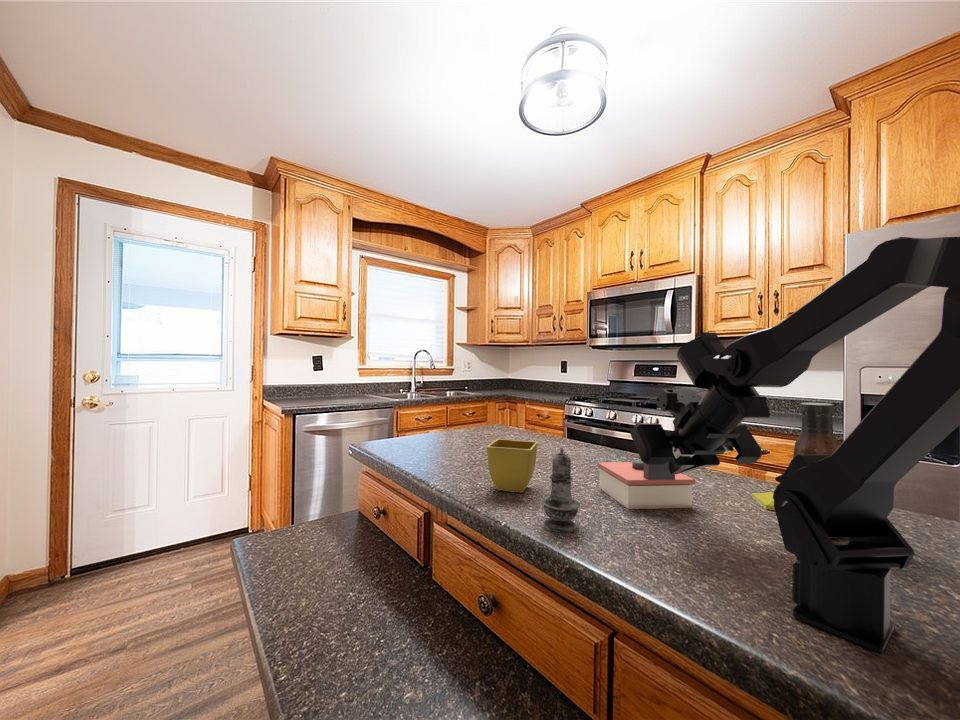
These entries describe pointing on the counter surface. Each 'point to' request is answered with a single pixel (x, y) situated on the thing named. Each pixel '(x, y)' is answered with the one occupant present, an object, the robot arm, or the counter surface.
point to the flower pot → (511, 463)
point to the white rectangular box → (646, 493)
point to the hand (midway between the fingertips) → (671, 471)
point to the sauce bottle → (816, 430)
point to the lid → (644, 473)
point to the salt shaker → (561, 497)
